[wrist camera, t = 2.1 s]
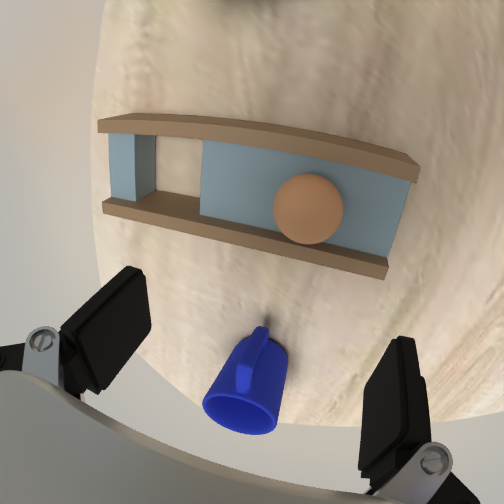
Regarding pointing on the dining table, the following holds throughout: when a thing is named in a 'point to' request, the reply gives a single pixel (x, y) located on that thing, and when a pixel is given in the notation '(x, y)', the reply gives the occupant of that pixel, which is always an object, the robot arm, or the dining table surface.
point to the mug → (249, 386)
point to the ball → (308, 208)
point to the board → (261, 186)
